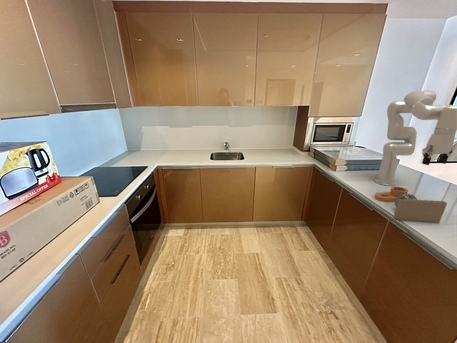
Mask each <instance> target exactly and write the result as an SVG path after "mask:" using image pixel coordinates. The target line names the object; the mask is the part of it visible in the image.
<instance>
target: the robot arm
mask: <svg viewBox="0 0 457 343" xmlns="http://www.w3.org/2000/svg"><path fill="white" fill-rule="evenodd" d="M436 100H437V93H436V92H435V91H433V90H418V91H412V92H409V93H407V94H406V95H405V96H404V98H403V99H402V100H396V101H393V102H391V103H389V104H388V106H387V110H386V114H387V116H386V117H387V119H388V122H387V133H386V137H387V140H389V141H391V142H387V143H385V144H384V145H383V147H382V159H381V164H380V166H379V171H378V174H377V178H375V179H374V182H375V183H376V184H379V185H382V186H390V187H393V186H395V185H396V182H395V181H394V178H395V175H396V172H397V170H398V169H397V168H398V165H399V160H398V158H397V157H398V156H403V157H404V156H407V157H408V156H411V155H414V153H415V150H416V143H417V142H416V141H417V135H418V134H417V132H418V131H417V130H416V128H415V127H413V126H404V125H405V123H404V122H405V119H404V118H403V116H402V114H412V116H414V117H415V118H416V119H418V120H422V121H433V120H434V121H435V120H436V121H437V122H436V124H435V128H434V131H433V133H431V135H430V137H429V138H428V141H427V142H426V145H425V147H424V148H423V149H422V150H421V151H422V157H423V159H422V162H421V164H422V165H425V166H429V165H430V163H431V160H432V157H433V155H440V156H439V159H438V163H440V164H445V165H446V164H447V162H448V159H449V157H450V156H451V154H452V153H453V152H454V150H455V149H456V147H455V146H454V142H455V136H456V134H457V105H453V104H434V103H435V101H436ZM402 141H403V142H402Z"/></svg>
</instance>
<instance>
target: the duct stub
mask: <svg viewBox="0 0 457 343" xmlns="http://www.w3.org/2000/svg"><path fill="white" fill-rule="evenodd" d="M393 203H394V206H395V211H394V214H393V217H392V218H393V220H395V221H399V222H400V221H401V222H402V221H403V222H416V223H417V222H418V223H419V222H420V223H432V224H439V223H440V222H441V220H442V218H443V214H444V212H445V210H446V207H447V205H448V202H446V201H444V200H443V201H442V200H430V199H428V200H427V199H426V200H425V199H418V198H417V197H416V196H415V195H413V194H411V193H407V194H402V195H400V196H398V197H397V198H396V200H395V202H393Z"/></svg>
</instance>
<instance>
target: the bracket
mask: <svg viewBox="0 0 457 343" xmlns="http://www.w3.org/2000/svg"><path fill="white" fill-rule="evenodd" d="M402 194H409V190H408V189H407V188H405V187H402V186H398V185H397V186H395V185H392V186H390V191H386V192H384V191H383V192H375V193H374V197H373V198H374V200H376V201H379V202H383V203H394V202H395V200H396V198H397V197H398V196H400V195H402Z"/></svg>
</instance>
